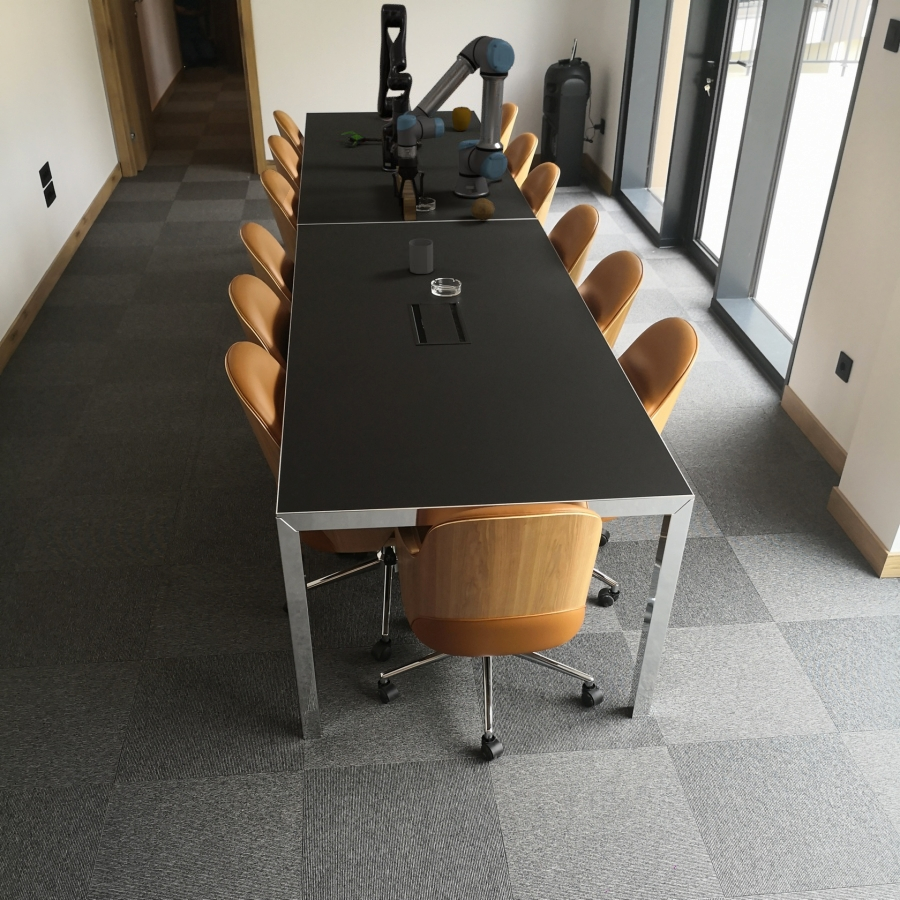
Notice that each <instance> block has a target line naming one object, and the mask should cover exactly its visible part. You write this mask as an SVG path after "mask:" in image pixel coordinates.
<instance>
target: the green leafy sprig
mask: <svg viewBox="0 0 900 900" xmlns="http://www.w3.org/2000/svg"><path fill="white" fill-rule="evenodd" d="M347 134H352V135H350V136H348V138H349V139H348V142H350V143H352V144H347V143H345V142H341V141H339V144H341V145H343V146H344V147H348V148H355V147H356V146H358V145H360V144H364V143H365V142H377V143H379V142H381V143H382V138H378V137H377V138H376V137H374V138H373V137H365V136H363V135H361V134H359V133H357V132H356V131H345V132H343V133H341V134H339V136H343V135H347Z"/></svg>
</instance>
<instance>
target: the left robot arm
mask: <svg viewBox="0 0 900 900" xmlns="http://www.w3.org/2000/svg"><path fill="white" fill-rule="evenodd" d="M407 13H408V12H407V8H406V6H405V5H404V4H400V3H383V4H382V5H381V9H380V50H379V52H380V53H379V80H378V81H379V84H378V93H377V104H376V111H377V115H378V117H379V118H380V119H391V118H392V120H391V121H388V122H387V123H386V124H382V126H381V139H382V142H381V151H382V152H381V153H382V170H383V171H385V172H391V173H392V172H396V171H397V170H396V166H399V163H398V158H399V156H398V132H397V121H398V117H399V116H402V115H404V113H405V112H407V111H409V98H410V94H411V90H412V86H413V76H412V75H411V73H409V72H404V71H406V70H407V67H408V60H407V31H408V14H407ZM389 29H399V32H398V34H397V36H396V38H395V39H394V41H393V40H392V38H391V35H390V32H389ZM389 90H390V91H392V92H400V91H401V92H403V93H402V95H397V96H388V92H389ZM417 151H419V140H417Z"/></svg>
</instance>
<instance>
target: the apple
mask: <svg viewBox="0 0 900 900" xmlns="http://www.w3.org/2000/svg"><path fill="white" fill-rule="evenodd" d="M451 121H452V125H453V128H454V129H455V131H457V132H463V131H466V130H467V129H468V128H469V126H470V124H471V121H472V111H471V108H469V107H467V106H462V105H461V106H457V107H454V108H452V111H451Z"/></svg>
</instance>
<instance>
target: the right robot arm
mask: <svg viewBox="0 0 900 900" xmlns="http://www.w3.org/2000/svg"><path fill="white" fill-rule="evenodd" d="M515 54H516V53H515V51H514V48H513V46H512V44H511V43H509V42H508V41H507V40H505V39H502V38H498V37H493V36H488V35H480V36H477V37H475V38H473V39H472V40H471V41H470V42H468V43H467V44H466V45H465V46H464V47H463V48H462V49H461V51H459V53H458V54H457V55H456V59H455V61H454V62H453V64H452V65H451V66H450V67H449V68H448V69H447V70H446V72H445V73H444V74H443V75H442V76H441V77H440V79H438V81H437V82H436V83H435V84H434V85H433V87H431V89H430V90H429V91H428V92H427V93H426V94H425V96H423V98H422V99H421V100H420V102H419V103H418V104H417V105H416V106H415V107H414V108H413V109H412V110H411V111H407V112H405V113H404V115H402V116H399V117H398V121H397V132H398V156H399V158H398V163H399V168H398V171H394V172H391V177H392V180H393V181H392V183H393V185H392V186H393V197H394V198H395V199H398V207H401V209H400V210H401V215H402V216H404V205H403V197H402V193H403V189H404V184H405V181H406V180H411V184H412V188H413V191H414V195H415V199H416V216H417V215H418V212H417V211H418V209H417V208H418V207H419V206H420V198H423V197H424V178H425V171H424V170H419V168H418V157H417V156H418V150H417V140H418V141H421V140H429V139H436V138H441V137H443V136H444V133H445V123H444V121H443V119H442V118H441V117H435V116H434V115H435V114H436V113H437V112H438V111H439V110H440V109H441V107H442V106H443V105H444V104H445V103H446V102H447V101H448V99H449V98H450V97H451V96H452V95H453V94H454V93H455V92H456V90H457V89H458V88H460V86H461V85H462V83H464V81H465V80H466V79H467V78H468V77H469V76H470V75H473V74H475V73H476V72H477V71H478V70H479V76H480V77H481V78H482V89H481V92H482V93H481V109H480V111H481V112H480V127H479V128H480V129H479V130H480V131H479V139H467V140H463V141H460V142H459V145H458V177H457V181H456V184H455V187H454V195H455V196H456V197H457V198H462V199H470V200H471V199H472V200H474V199H475V200H476V199H479V198H485V197H487V196H489V194H490V189H489V187H488V186H490V185H491V184H493V183H497V182H498V183H499V182H503V179H502V178H501V177H502V176H503V175H504V174H505V172H506V171H507V168H508V157H507V156H506V154H504V144H503V143H502V141H501V135H502V134H501V133H502V121H503V104H504V88H505V87H504V86H505V80H506V79H507V78H508V77H509V72H510V70H511V69H512V67H513V66H514V64H515V60H516V55H515ZM433 116H434V117H433ZM398 174H399V175H400V176H401V178H402V179H401V185H400V190H399V192H398V188H397V175H398ZM417 175H418V177H419V191H418V187H417V183H416V180H415V179H416V177H417ZM499 178H500V179H499ZM487 180H491V181H488V182H487Z"/></svg>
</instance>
